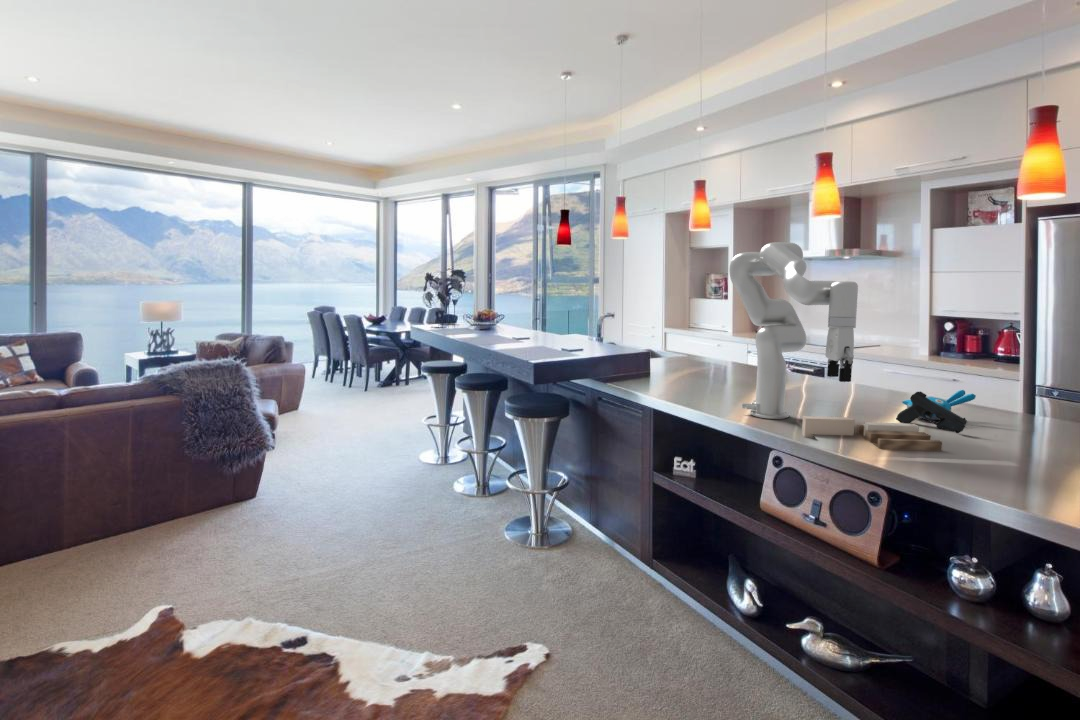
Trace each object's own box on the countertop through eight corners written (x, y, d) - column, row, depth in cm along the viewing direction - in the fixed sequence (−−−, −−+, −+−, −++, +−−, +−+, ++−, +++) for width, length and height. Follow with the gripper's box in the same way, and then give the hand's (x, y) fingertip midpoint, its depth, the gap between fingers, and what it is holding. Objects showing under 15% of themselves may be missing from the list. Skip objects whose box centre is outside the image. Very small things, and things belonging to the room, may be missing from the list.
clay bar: (804, 437, 187) (805, 418, 186) (801, 435, 189) (802, 416, 189) (853, 439, 185) (854, 419, 184) (849, 436, 188) (850, 417, 187)
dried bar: (867, 437, 182) (868, 424, 181) (863, 435, 185) (864, 422, 184) (917, 439, 180) (919, 426, 179) (913, 436, 183) (914, 423, 182)
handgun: (896, 418, 203) (916, 388, 198) (948, 449, 193) (971, 418, 187) (894, 419, 202) (913, 389, 196) (946, 451, 191) (969, 420, 186)
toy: (982, 428, 197) (985, 397, 196) (918, 425, 201) (920, 395, 199) (954, 414, 216) (956, 386, 215) (896, 412, 220) (898, 384, 219)
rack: (879, 452, 171) (880, 439, 170) (856, 436, 187) (857, 425, 187) (941, 454, 168) (942, 441, 168) (912, 438, 185) (913, 426, 185)
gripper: (818, 320, 193) (816, 374, 195) (839, 324, 176) (836, 383, 178) (843, 320, 192) (840, 374, 194) (867, 324, 175) (863, 383, 177)
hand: (838, 379), depth 186 cm, fingers open, 9 cm apart
